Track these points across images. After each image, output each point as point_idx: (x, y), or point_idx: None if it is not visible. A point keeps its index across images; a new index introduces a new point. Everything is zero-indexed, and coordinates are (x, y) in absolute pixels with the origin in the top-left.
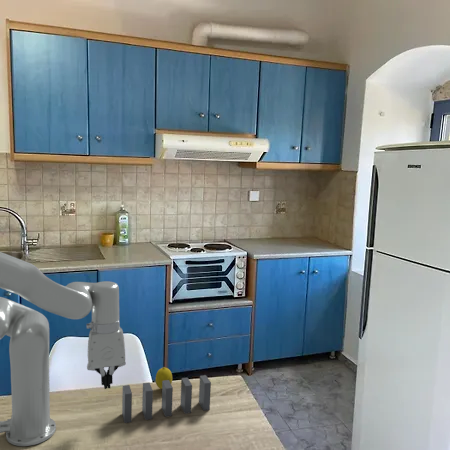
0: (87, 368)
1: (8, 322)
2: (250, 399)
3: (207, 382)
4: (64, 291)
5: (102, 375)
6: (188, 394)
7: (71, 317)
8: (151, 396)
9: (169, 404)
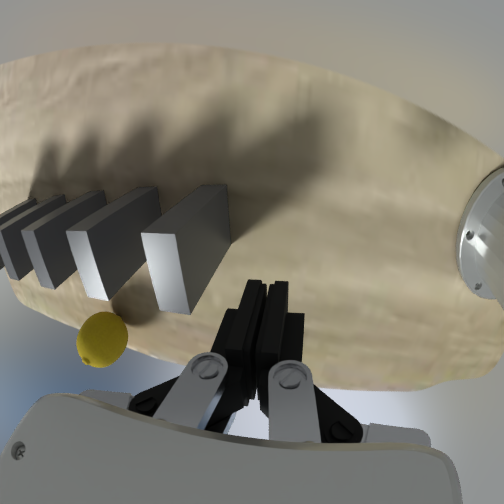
0: (428, 444)
1: None
2: None
3: None
4: None
5: (294, 368)
6: (17, 217)
7: None
8: (86, 219)
9: (68, 205)
